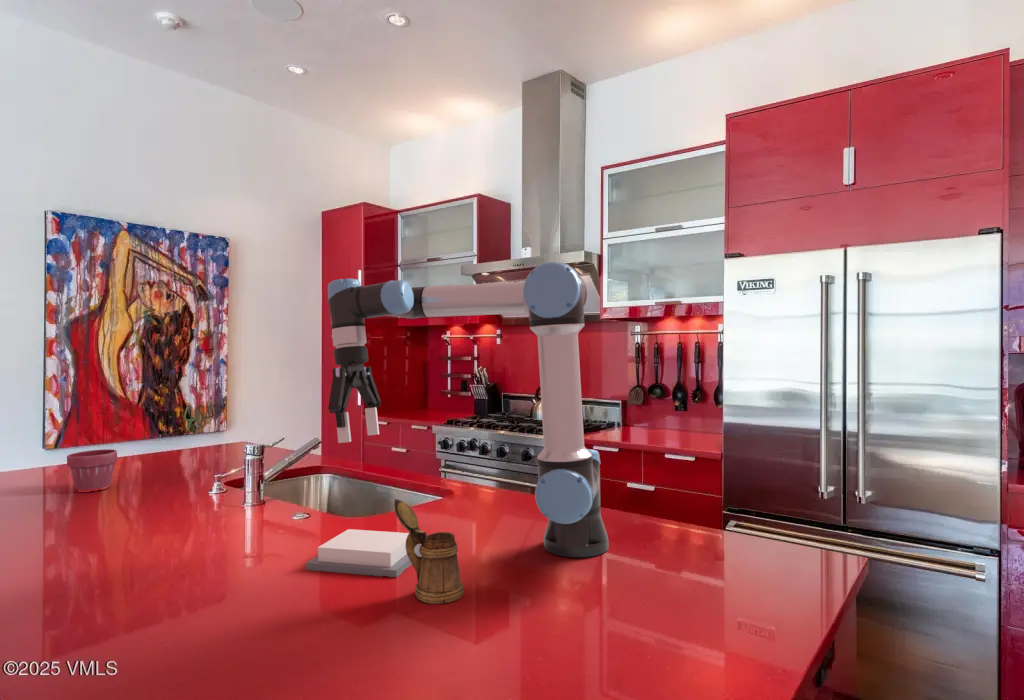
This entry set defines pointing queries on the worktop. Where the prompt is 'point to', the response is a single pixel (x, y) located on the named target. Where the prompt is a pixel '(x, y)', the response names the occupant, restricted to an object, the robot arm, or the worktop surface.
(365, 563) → the plate
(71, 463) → the plant pot
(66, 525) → the worktop surface
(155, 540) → the worktop surface
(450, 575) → the wooden mug
